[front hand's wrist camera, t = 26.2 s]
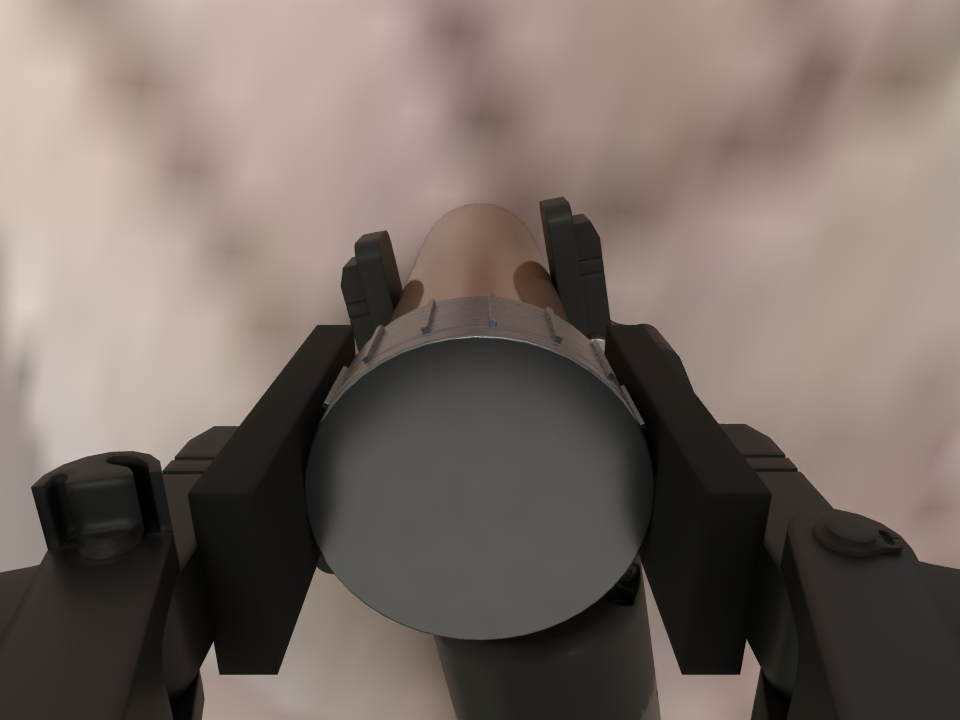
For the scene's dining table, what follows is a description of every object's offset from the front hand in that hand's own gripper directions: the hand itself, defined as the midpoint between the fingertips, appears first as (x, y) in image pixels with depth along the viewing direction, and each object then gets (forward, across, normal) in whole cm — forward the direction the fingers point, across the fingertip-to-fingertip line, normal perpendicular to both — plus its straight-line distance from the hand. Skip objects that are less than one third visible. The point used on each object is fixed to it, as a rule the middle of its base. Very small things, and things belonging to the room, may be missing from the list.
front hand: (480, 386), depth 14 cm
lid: (-4, 0, 0) cm, 4 cm away
